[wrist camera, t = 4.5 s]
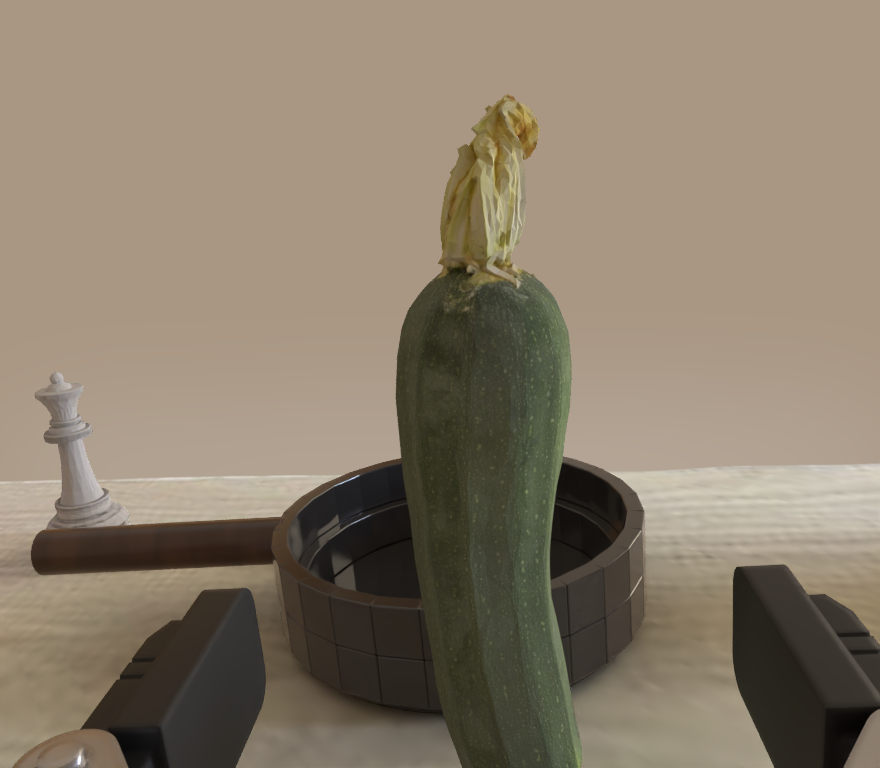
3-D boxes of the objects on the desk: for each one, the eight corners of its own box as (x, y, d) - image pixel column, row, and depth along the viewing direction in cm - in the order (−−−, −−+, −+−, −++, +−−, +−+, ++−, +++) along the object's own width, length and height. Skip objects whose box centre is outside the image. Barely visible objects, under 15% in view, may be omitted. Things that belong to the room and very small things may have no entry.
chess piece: (150, 538, 45) (116, 365, 42) (77, 572, 42) (35, 387, 39) (106, 523, 48) (72, 359, 45) (34, 554, 44) (-8, 379, 42)
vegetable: (453, 900, 21) (368, 94, 16) (432, 782, 25) (359, 112, 20) (616, 869, 21) (584, 77, 16) (569, 757, 26) (532, 98, 21)
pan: (616, 522, 42) (614, 440, 41) (683, 718, 27) (682, 598, 26) (326, 537, 43) (316, 458, 42) (238, 731, 28) (218, 617, 27)
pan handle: (293, 550, 36) (287, 509, 35) (282, 572, 34) (276, 528, 34) (60, 561, 37) (51, 522, 36) (36, 583, 35) (26, 542, 35)
